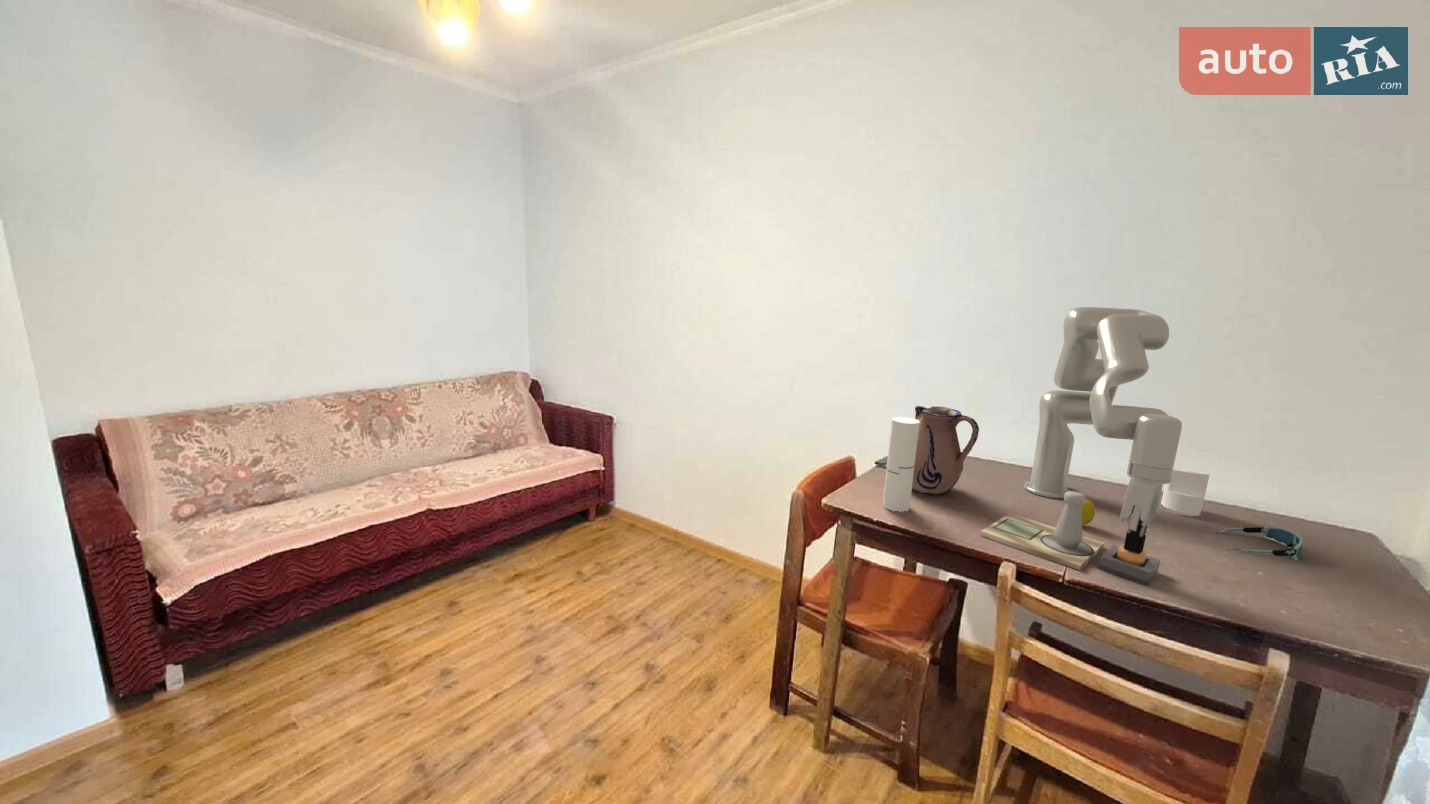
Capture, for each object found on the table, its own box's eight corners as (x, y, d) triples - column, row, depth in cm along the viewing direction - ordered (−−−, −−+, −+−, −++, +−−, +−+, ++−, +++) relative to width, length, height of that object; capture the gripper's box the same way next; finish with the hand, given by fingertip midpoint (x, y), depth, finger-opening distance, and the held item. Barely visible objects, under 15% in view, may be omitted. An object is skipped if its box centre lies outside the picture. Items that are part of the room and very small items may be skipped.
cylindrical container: (910, 513, 153) (921, 424, 148) (883, 510, 154) (893, 422, 149) (907, 503, 160) (917, 418, 154) (881, 500, 161) (890, 416, 156)
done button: (1119, 553, 129) (1121, 543, 128) (1146, 562, 125) (1148, 552, 125) (1113, 560, 125) (1115, 550, 125) (1140, 569, 122) (1143, 558, 121)
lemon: (1090, 523, 150) (1095, 495, 149) (1093, 531, 145) (1099, 502, 144) (1066, 519, 153) (1071, 491, 151) (1068, 527, 148) (1074, 498, 146)
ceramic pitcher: (907, 475, 184) (915, 400, 178) (976, 491, 172) (988, 411, 166) (889, 490, 170) (897, 409, 164) (963, 508, 158) (975, 422, 152)
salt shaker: (1077, 541, 137) (1086, 491, 134) (1083, 551, 131) (1093, 499, 128) (1049, 537, 138) (1058, 487, 136) (1055, 547, 133) (1064, 495, 130)
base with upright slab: (1166, 513, 160) (1175, 473, 157) (1155, 502, 168) (1164, 464, 166) (1205, 519, 157) (1215, 478, 154) (1192, 507, 165) (1202, 468, 162)
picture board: (1009, 517, 153) (1010, 512, 152) (1103, 547, 137) (1104, 542, 136) (980, 535, 141) (980, 530, 141) (1079, 570, 125) (1080, 565, 125)
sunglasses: (1316, 566, 132) (1318, 546, 131) (1236, 561, 137) (1237, 541, 136) (1281, 541, 145) (1283, 522, 144) (1209, 537, 150) (1210, 519, 149)
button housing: (1110, 556, 132) (1112, 545, 131) (1157, 572, 125) (1160, 560, 125) (1098, 568, 126) (1101, 556, 125) (1147, 585, 120) (1150, 572, 119)
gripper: (1137, 461, 128) (1122, 535, 132) (1118, 473, 119) (1103, 553, 122) (1178, 469, 123) (1161, 547, 127) (1163, 483, 113) (1145, 567, 117)
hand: (1132, 550), depth 124 cm, fingers closed
